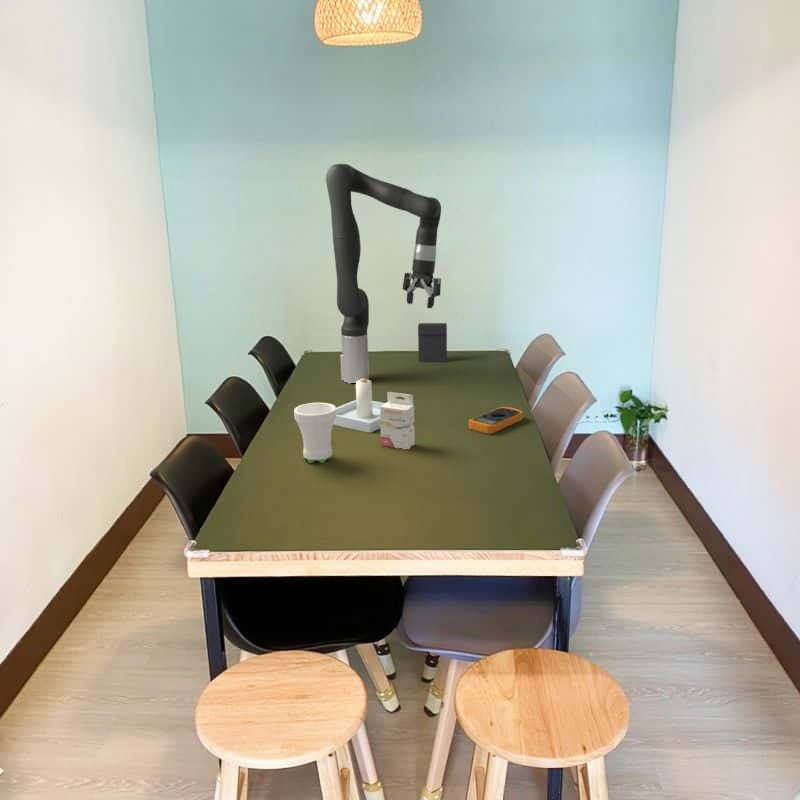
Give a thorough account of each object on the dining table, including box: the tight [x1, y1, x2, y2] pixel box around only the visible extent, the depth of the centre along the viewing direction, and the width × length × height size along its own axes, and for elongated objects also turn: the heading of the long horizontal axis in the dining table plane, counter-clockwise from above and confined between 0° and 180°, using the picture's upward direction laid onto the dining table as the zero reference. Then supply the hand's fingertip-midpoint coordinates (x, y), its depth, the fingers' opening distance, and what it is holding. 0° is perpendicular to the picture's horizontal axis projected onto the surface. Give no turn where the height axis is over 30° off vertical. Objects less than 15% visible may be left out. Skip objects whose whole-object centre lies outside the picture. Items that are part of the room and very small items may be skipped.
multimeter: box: [468, 406, 524, 435], centre depth 235 cm, size 9×18×3 cm, turn 137°
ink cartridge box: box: [380, 391, 415, 450], centre depth 218 cm, size 9×5×15 cm, turn 65°
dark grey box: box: [417, 322, 448, 363], centre depth 308 cm, size 11×4×15 cm, turn 84°
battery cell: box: [355, 378, 373, 419], centre depth 241 cm, size 5×5×12 cm
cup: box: [293, 402, 337, 464], centre depth 210 cm, size 11×11×14 cm
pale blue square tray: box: [333, 399, 386, 434], centre depth 243 cm, size 18×18×3 cm
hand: (419, 305), depth 270 cm, fingers open, 8 cm apart
